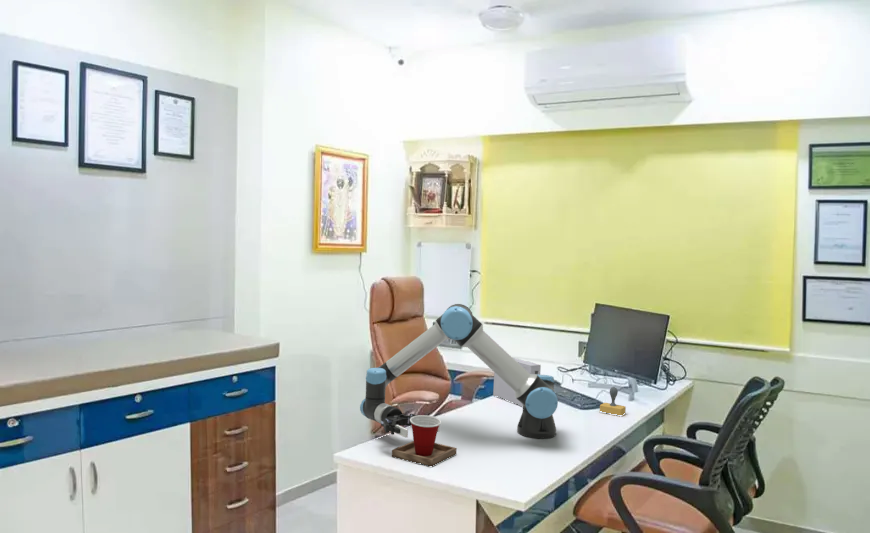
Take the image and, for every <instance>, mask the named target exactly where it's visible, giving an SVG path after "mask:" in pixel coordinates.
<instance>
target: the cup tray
mask: <svg viewBox="0 0 870 533" xmlns="http://www.w3.org/2000/svg"><path fill="white" fill-rule="evenodd" d="M457 449H458V448H457V447H455V446H450V445H445V444H442V443H438V442H435V444H434V448H433V452H432V455H430V456H419V455H416V453H415V446H414V440H413V441H410V442H407V443H405V444H403V445H400V446H398V447H395V448H393V449H392V450H391V458H395V457H396V458H395V459H398V458H400V459H399V460H402V459H404V460H403V461H406V460H408V461H407V462H410V461H412V462H411V463H413V462H416V463H415V464H417V463H421V464H424V465H423V466H425V465H428V466H427V467H429V466H432V467H434V466H433V465H435V464H437V463H439V462H441V461H443V460H445V459H447V458H449V457H451V456H453V455H455V454H456V455H457ZM456 455H455V456H456ZM453 457H454V456H453ZM451 458H452V457H451ZM449 459H450V458H449ZM447 460H448V459H447ZM445 461H446V460H445ZM443 462H444V461H443ZM441 463H442V462H441ZM421 464H420V465H421ZM439 464H440V463H439ZM437 465H438V464H437ZM435 466H436V465H435Z"/></svg>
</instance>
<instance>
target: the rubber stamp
mask: <svg viewBox="0 0 870 533" xmlns="http://www.w3.org/2000/svg"><path fill="white" fill-rule="evenodd" d="M618 392H619V391H618V388H617V387H615V386H612V387H611V388H610V389H609V394H610V399H611V402H610V403H609V402H603V403H601V404H600V405H599V412H600V411H602V412H606V413H611V414H617V415H623V414H624V413H625V414H626V408H627V407H626V406H624V405H620V404H616V402H615V401H616V399H617V396H618ZM623 416H624V415H623Z"/></svg>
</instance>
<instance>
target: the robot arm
mask: <svg viewBox="0 0 870 533" xmlns="http://www.w3.org/2000/svg"><path fill="white" fill-rule="evenodd" d="M446 340H453V341H454V342H455V343H456V344H457V345H458V346H459V347H461V348H468V349H469V350H470V351H471V352H472V353H473V354H474V355H475V356H477V358H478V359H479V360H481V362H483V364H485V365H486V366H487V367H488V368H489V369H490V370H492V372H493V373H494V372H495V373H496V374H497V375H498V376H499V377H500V378H501V379H502V380H503V381H504V382H505V383H506V384H507V385H509V386H510V387H511V388H512V389H513V390H514V391H515V397H516V399H518V400H519V401H520V402H521V403H522V404H523V407H522V413H521V415H520V417H519V421H518V424H517V426H516V427H517V429H516V432H517V433H518V434H519V435H520V436H524V437H526V438H532V439H551V438H553V437H555V436H556V435H557V427H556V423H555V419H554V416H553V415H554V413H556V411H557V408H558V403H559V399H558V396H557V393H556V392H555V388H554V387H555V378H554V376H552V375H548V374H540V375H538V374H529V373H528V372H527V371H526V370H525V369H524V368H523V367H522V366H521V365H520V364H519V363H518V362H517V361H515V360H514V359H513V358H514V357H513V356H511V355H510V354H509V353H508V352H507V351H506V350H505V349H504V348H503V347H501V346H500V345H499V344H498V342H496V341H495V340H494V339H493V338H492V337H491V336H490V335H489V334H488V333H487V332H485V331H484V324H483V323H482V322H481V321H479V319H478V318H476V316H474V315H473V312H472V311H471V309H470V308H469V307H468V306H467V305H465V304H462V303H454V304H451V305H450V306H448V308H446V310H445V311H444V312H443V314H441V315H440V316H439V317H438V318H437V319H435V321H434V324H433V325H432V326H430V327H429V328H428V329H426V331H424V332H422V333H421V334H420V335H419V336H417V337H416V338H415V339H413V340H412V341H411V342H410V343H409V344H407V345H406V346H404V347H403V348H402V349H401V350H399V351H398V352H397V353H395V354H394V355H393V356H392V357H391V358H389V359H388V360H386V361H385V362H384V363H383V364H382V365H380V366H377V367H371V368H368V369H367V370H366V376H365V398H364V399H363V400H362V401H361V403H360V405H359V411H360V413H361V414H362V415H363V416H364V417H366V418H367V419H369V420H371V421H375V422H377V423H379V424H380V426H382V427H383V429H384V432H385V433H386V434H389V433H390V435H392V436H393V435H395V434H397V435H399V436H402V437H403V438H408V436H409V429H408V428H405V427H404V426H408V427H412V426H411V422H410V418H411V417H413V416H418V415H419V414H413V413H409V415H407V414H405V413H403V412H402V410H401V409H399V408H398V407H395V406H393V405H390V404H388V403H386V388H387V387H388V385H389V384H390V383H391V382H393V381H394V380H395V379H397V378H398V377H400V376H401V375H402V374H403V373H404V372H406V371H407V370H408V369H409V368H411V367H412V366H414V365H415V364H416V363H417V362H418V361H420V360H422V359H423V358H424V357H425V356H427V355H428V354H429V353H431V352H432V351H433V350H434V349H436V348H437V347H439V346H440V345H441V344H442V343H444V342H445V341H446ZM512 357H513V358H512ZM440 426H441V424H440V425H439V427H438V430H437V433H438V432H440Z"/></svg>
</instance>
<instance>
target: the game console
mask: <svg viewBox="0 0 870 533" xmlns="http://www.w3.org/2000/svg"><path fill="white" fill-rule="evenodd" d="M511 357H512V358H513V359H514V360H515V361H517V362H518V363H519V364H520V365H521V366H522V367H523V368H524V369H525V370H526V371H527V372H528V373H529V374H538V375H541V367H542V366H541V364H538V363H535V362H531V361H528V360H523V359H519V358H516V357H513V356H511ZM493 375H494V376H493V391H492V392H493V394H492V396H493V397H495V396H498V397H501V398H503V399H506V400H508V401H510V402H509V403H511V402H513V403H515V404H514V405H516V404H518V405H517V406H519V405H520V406H519V407H521V406H523V404H522V403H521V402H520V401H519V400H518V399H516V397H515V391H514V390H513V389H512V388H511V387H510V386H509V385H507V384H506V383H505V382H504V381H503V380H502V379H501V378H500V377H499V376H498V375H497V374H496V373H495V372H494V371H493ZM498 397H497V398H498ZM503 399H502V400H503ZM506 400H505V401H506ZM508 401H507V402H508ZM513 403H512V404H513Z"/></svg>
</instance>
